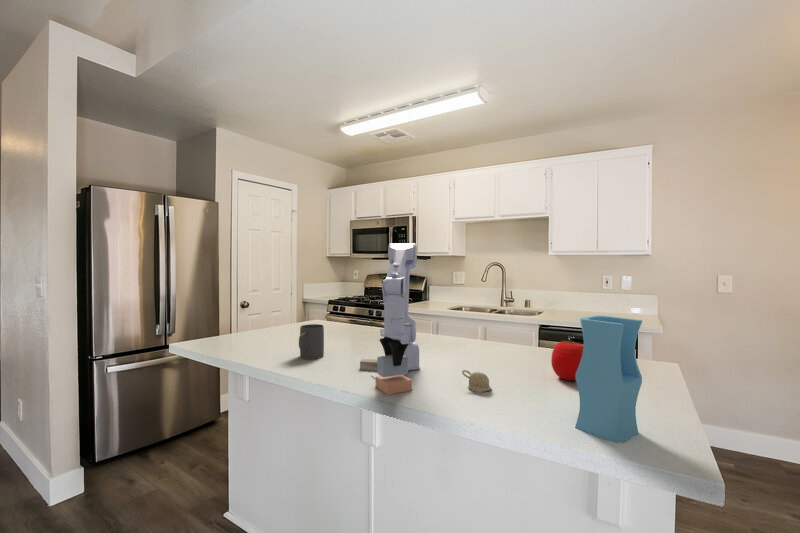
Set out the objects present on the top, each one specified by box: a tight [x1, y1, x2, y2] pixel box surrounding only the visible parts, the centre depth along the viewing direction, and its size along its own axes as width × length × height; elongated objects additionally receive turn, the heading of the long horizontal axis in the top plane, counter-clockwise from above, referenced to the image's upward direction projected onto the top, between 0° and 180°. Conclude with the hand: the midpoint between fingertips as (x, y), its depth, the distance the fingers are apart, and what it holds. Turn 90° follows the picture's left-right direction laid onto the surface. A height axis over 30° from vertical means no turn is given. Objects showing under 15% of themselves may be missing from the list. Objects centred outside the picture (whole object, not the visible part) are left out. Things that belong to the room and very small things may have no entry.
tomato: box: [550, 339, 584, 382], centre depth 121 cm, size 12×12×13 cm
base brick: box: [375, 374, 413, 395], centre depth 112 cm, size 8×8×3 cm
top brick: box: [376, 355, 409, 377], centre depth 112 cm, size 8×4×5 cm, turn 118°
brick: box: [359, 358, 377, 371], centre depth 133 cm, size 4×8×3 cm, turn 84°
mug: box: [298, 323, 325, 360], centre depth 147 cm, size 14×9×12 cm
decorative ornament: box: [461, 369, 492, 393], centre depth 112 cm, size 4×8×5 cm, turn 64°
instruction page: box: [370, 373, 381, 380], centre depth 124 cm, size 8×6×1 cm
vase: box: [574, 315, 643, 444], centre depth 85 cm, size 10×10×25 cm
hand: (393, 363), depth 112 cm, fingers closed on top brick, 4 cm apart
